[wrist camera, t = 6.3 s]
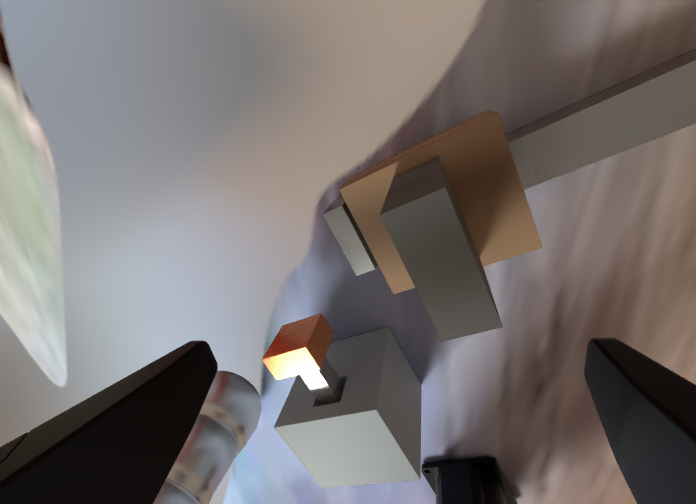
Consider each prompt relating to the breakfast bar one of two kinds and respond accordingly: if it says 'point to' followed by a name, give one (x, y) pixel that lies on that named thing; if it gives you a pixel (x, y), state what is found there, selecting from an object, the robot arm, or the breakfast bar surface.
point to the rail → (572, 137)
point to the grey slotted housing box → (359, 416)
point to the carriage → (446, 221)
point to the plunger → (306, 357)
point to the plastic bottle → (213, 441)
